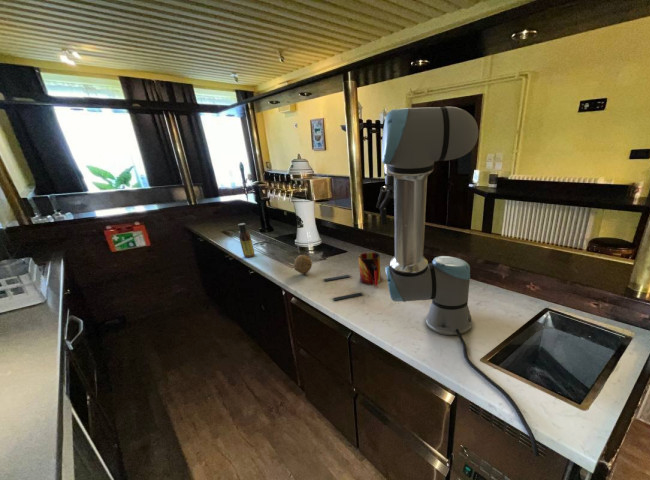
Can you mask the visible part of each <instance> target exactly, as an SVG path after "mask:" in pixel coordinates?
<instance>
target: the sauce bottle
mask: <svg viewBox="0 0 650 480" xmlns="http://www.w3.org/2000/svg"><path fill="white" fill-rule="evenodd" d="M237 227H238V229H239V237H238V240H239V242H240V247H241V250H242V254H243V256H244V258H253V257H255V255H256V254H255V249H254V245H253V241H252V237H251V234H250V233H249V232H248V230H247V226H246V223H245V222H242V223H238V224H237Z"/></svg>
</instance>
